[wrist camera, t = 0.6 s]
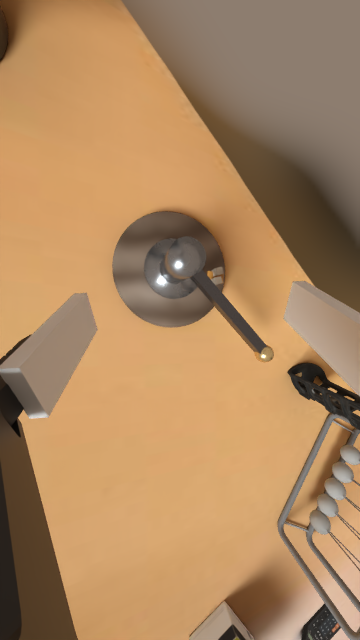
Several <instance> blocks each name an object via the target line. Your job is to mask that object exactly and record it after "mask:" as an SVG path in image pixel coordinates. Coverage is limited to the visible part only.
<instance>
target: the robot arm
mask: <svg viewBox="0 0 360 640" xmlns="http://www.w3.org/2000/svg"><path fill="white" fill-rule="evenodd" d="M7 42H8V28H7V23H6V19H5V16H4V14H3V11H2V9H1V6H0V59H1V58H2V56H3V55H4V53H5V50H6V47H7ZM283 319H284V320H285V321H286V322H287V323H288V324H289V325H290V326H291V327H292V328H293V329H294V330H295V331H296V332H297V333H298V334H299V335H300V336H301V337H302V338H303V339H304V340H305V341H306V342H307V343H308V344H309V345H310V346H311V347H312V348H313V349H314V350H315V351H316V353H317V354H318V355H319V356H320V357H321V358H322V359H323V360H324V361H325V362H326V363H327V364H328V365H329V366H330V367H331V368H332V369H333V370H334V371H335V372H336V373H337V374H338V375H339V376H340V377H341V378H342V379H343V380H344V381H345V382H346V383H347V384H348V385H349V386H350V387H351V388H352V389H353V390H354V391H355V392H356V393H357V394H358V395H359V396H360V313H359V312H357V311H355V310H354V309H352V308H350V307H348V306H347V305H345V304H343V303H341V302H339V301H338V300H336V299H335V298H333V297H331V296H330V295H328V294H326V293H324V292H323V291H321V290H319V289H317V288H316V287H314V286H312V285H311V284H309V283H307V282H306V281H295V282H293V283H292V287H291V291H290V295H289V299H288V303H287V307H286V311H285V314H284V318H283ZM96 331H97V326H96V323H95V319H94V316H93V313H92V309H91V306H90V302H89V299H88V296H87V293H75V294H73V295H72V296H71V297H70V298H69V299H68V300H67V301H66V302H65V303H64V304H63V305H62V306H61V307H60V308H59V309H58V310H57V311H56V312H55V313H54V314H53V315H52V316H51V317H50V318H49V319H48V320H47V321H46V322H45V323H43V324H42V325H41V326H40V327H39V328H38V329H37V330H36V331H35V332H34V333H33V334H32V335H29V336H27V337H26V338H24V339H22V340H21V341H19V342H18V343H17V344H16V345H15V346H14V347H13V348H12V350H10V351H9V352H8V353H7V354H6V356H3V357H2V358H1V359H0V640H78V638H77V636H76V632H75V629H74V625H73V621H72V617H71V614H70V610H69V606H68V602H67V598H66V594H65V590H64V586H63V583H62V579H61V575H60V571H59V567H58V563H57V559H56V556H55V552H54V548H53V544H52V540H51V536H50V532H49V528H48V525H47V521H46V517H45V513H44V509H43V505H42V501H41V498H40V494H39V490H38V486H37V482H36V478H35V474H34V470H33V467H32V463H31V459H30V455H29V451H28V447H27V443H26V440H25V436H24V432H23V428H22V424H21V422H20V421H19V419H18V417H19V415H20V414H21V412H22V411H23V409H24V411H25V412H26V414H27V415H28V417H29V418H44V417H49V416H50V414H51V412H52V410H53V408H54V407H55V405H56V403H57V401H58V399H59V398H60V396H61V394H62V392H63V390H64V389H65V387H66V385H67V383H68V382H69V380H70V378H71V376H72V374H73V373H74V371H75V369H76V367H77V365H78V364H79V362H80V360H81V358H82V356H83V355H84V353H85V351H86V349H87V348H88V346H89V344H90V342H91V340H92V339H93V337H94V335H95V333H96Z"/></svg>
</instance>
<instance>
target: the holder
mask: <svg viewBox="0 0 360 640" xmlns="http://www.w3.org/2000/svg"><path fill="white" fill-rule="evenodd" d="M300 372H302V377H298V376H296V375H295V374H297V373H300ZM288 374H289V375H290V377H291V380H292V383H293V385H294V387H295V388H296V389H297V390H298V392H299V394H300V395H302V396H303V397H305V398H307V399H308V400H310V398H311V399H312V400H314V401H315V400H316V401H317V402H319V403H321V404H322V405H323V406H325V408H326V410H327V411H329V412H331V413H332V414H334V415H335V414H337V415H339V416H343V417H345V418H346V419H348V420H349V422H350V424H351V425H352V426H354V427H355V428H357V429H358V430H360V417H359V416H358V415H356V414H354V413H352V412H353V411H355V410H359V411H360V396H359V395H357V394H355V393H353V392H350V391H349V390H346V389H344V388H342V387H340V386H338V385H336V384H334V383H332V382H330V381H329V380H328V379H327V377H326V375H325V372H324V371H323V370H322V368H320V367H319V366H317V365H315V364H312V363H302V364H299V365H296V366H294V367H292V368H291V369H290V370H289V371H288ZM316 376H319V378H320V379H321V381H322V382H323V383H322V384H321V385H320V386H319V385H317V384H315V383H313V382H314V379H315V377H316ZM298 381H299V382H300V385H299V383H298ZM330 387H331V388H333V389H335V390H337V393H334V392H332V391H330V390H328V388H330ZM313 388H314V389H313ZM320 393H321V394H322V395H320ZM330 396H331V397H330ZM344 396H348V397H350V398H352V399H354V400H355V401H352V400H349V399H347V398H345V397H344Z"/></svg>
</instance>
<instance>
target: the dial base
mask: <svg viewBox="0 0 360 640" xmlns="http://www.w3.org/2000/svg"><path fill="white" fill-rule="evenodd" d="M185 236H189V237H193V238H195V239H197V240H198V241H199V242H200V243H201V244H202V245H203V247H204V249H205V252H206V263H205V265H204V267H203V269H202V270H203V271H204V272H205V273H206V275H207V276H208V277H209V278H210V279H211V280H212V282H213V283H214V284H215V285H216V286H217V288H218V289H219V290H220V291H221V292H222V289H223V285H224V280H225V265H224V259H223V255H222V252H221V250H220V247H219V245H218V243H217V241H216V240H215V238H214V237H213V235H212V234H211V233H210V232H209V231H208V230H207V228H205V227H204V226H203V225H202V224H201V223H199V222H198V221H196V220H195V219H193V218H191V217H189V216H187V215H184V214H181V213H176V212H168V211H165V212H156V213H151V214H148V215H146V216H143V217H141V218H140V219H138V220H136V221H135V222H134V223H132V224H131V225H130V226H129V227H128V228H127V229H126V230H125V232H124V233H123V234H122V236H121V237H120V239H119V241H118V243H117V246H116V248H115V252H114V256H113V277H114V282H115V285H116V288H117V290H118V293H119V295H120V297H121V298H122V300H123V301H124V303H125V304H126V305H127V307H128V308H129V309H130V310H131V311H132V312H133V313H134V314H136V315H137V316H138V317H140V318H141V319H143V320H145V321H147V322H149V323H151V324H154V325H157V326H162V327H181V326H186V325H189V324H192V323H194V322H196V321H198V320H200V319H201V318H202V317H204V316H205V315H206V314H207V313H208V312H210V310H211V309H212V308H213V307H214V305H213V304H212V303H211V302H210V301H209V299H208V298H207V297H206V296H205V295H204V294H203V292H202V291H201V290H200V289H199V288H198V287H197V288H196V289H195V290H194V291H193V292H192V293H191V294H189V295H188V296H185V297H183V298H178V299H169V298H165V297H162V296H160V295H158V294H157V293H156V292H154V291H153V290H152V289H151V287H150V286H149V284H148V283H147V281H146V278H145V274H144V262H145V258H146V256H147V253H148V252H149V250H150V249H151V248H152V247H153V246H154V245H155V244H156V243H157V242H159V241H161V240H164V239H170V238H173V239H178V238H181V237H185Z"/></svg>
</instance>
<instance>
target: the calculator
mask: <svg viewBox="0 0 360 640" xmlns="http://www.w3.org/2000/svg"><path fill="white" fill-rule="evenodd" d="M340 628H341V627H340V625H339V624H338V622H337V621H336V619H335V618H334V616H333V615H332V613H331V612H330V610H329V609H328V607H327V606H326V604H324V605H323V606H322V607H321V608H320V609H319V610H318V611H317V612H316V613H315V614H314V616H313V617H312V618H311V619H310V620H309V621H308V622H307V623H306V624H305V625H304V628H303V634H302V639H301V640H330V639H331V638H332V637H333V636H334V635H335V634H336V633H337V632H338V630H339V629H340Z"/></svg>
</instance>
